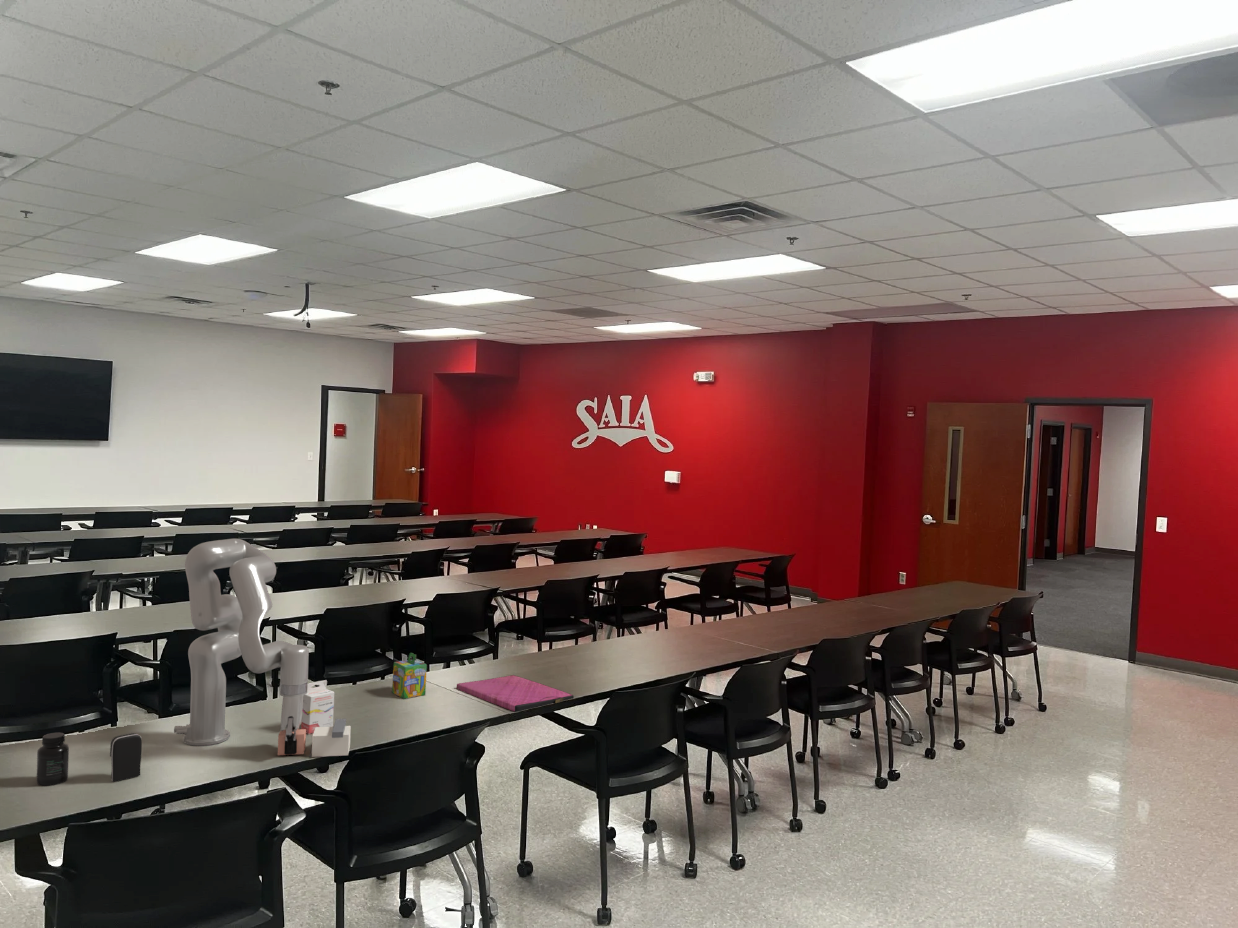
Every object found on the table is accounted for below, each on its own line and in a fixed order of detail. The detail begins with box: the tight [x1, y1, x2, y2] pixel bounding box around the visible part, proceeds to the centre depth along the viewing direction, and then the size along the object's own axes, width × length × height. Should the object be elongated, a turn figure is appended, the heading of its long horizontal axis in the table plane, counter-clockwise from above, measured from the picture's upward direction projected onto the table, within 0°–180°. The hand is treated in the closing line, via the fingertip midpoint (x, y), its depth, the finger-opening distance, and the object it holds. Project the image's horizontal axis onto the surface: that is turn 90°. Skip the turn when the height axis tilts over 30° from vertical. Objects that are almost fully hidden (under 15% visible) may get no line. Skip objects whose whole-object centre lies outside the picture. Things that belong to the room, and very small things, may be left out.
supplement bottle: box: [36, 732, 70, 787], centre depth 220 cm, size 7×7×12 cm
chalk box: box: [391, 652, 428, 700], centre depth 307 cm, size 9×9×15 cm
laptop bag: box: [456, 674, 574, 713], centre depth 313 cm, size 40×4×27 cm
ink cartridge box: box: [300, 679, 335, 735], centre depth 267 cm, size 9×5×15 cm, turn 141°
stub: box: [277, 728, 307, 756], centre depth 246 cm, size 7×4×6 cm, turn 104°
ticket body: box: [309, 718, 352, 758], centre depth 249 cm, size 11×12×8 cm
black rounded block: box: [109, 732, 143, 782], centre depth 224 cm, size 7×4×11 cm, turn 137°
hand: (291, 749), depth 246 cm, fingers closed on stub, 4 cm apart
